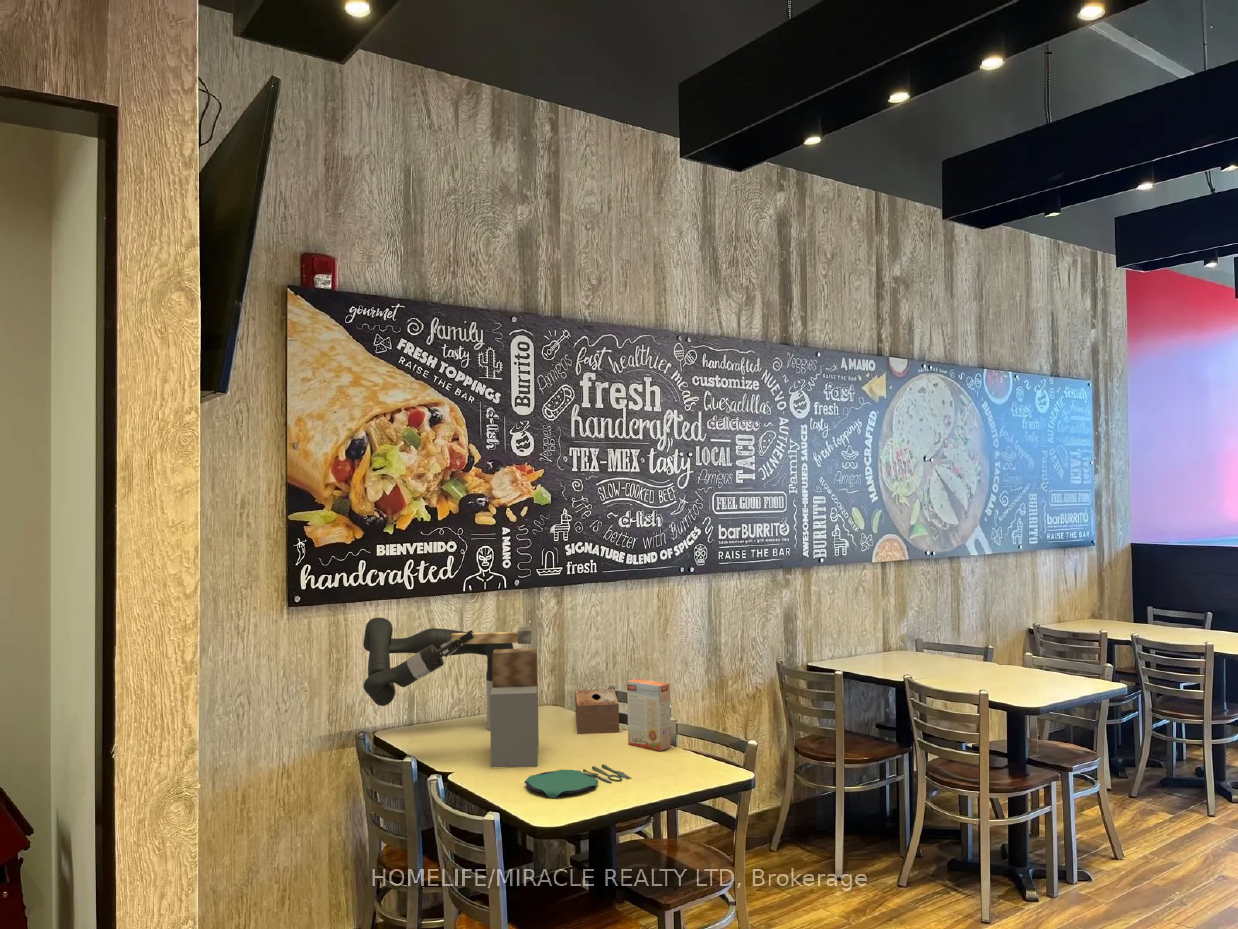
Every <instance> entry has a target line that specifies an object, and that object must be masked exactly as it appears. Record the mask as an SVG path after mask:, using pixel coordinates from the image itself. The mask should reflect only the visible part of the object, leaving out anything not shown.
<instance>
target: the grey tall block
mask: <svg viewBox="0 0 1238 929" xmlns="http://www.w3.org/2000/svg"><path fill="white" fill-rule="evenodd" d="M489 732H490V768H491V767H507V768H526V767H527V768H529V767H530V768H531V767H538V766H539V765H538V764H539V763H538V762H539V750H538V734H539V719H538V720H537V686H531V687H501V688H492V690H491V693H490V730H489Z"/></svg>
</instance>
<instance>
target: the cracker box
mask: <svg viewBox="0 0 1238 929" xmlns="http://www.w3.org/2000/svg"><path fill="white" fill-rule="evenodd" d="M626 683H627V684H626V688H627V696H626V697H627V699H626V700H627V739H628V740H627V744H628V745H629V746H633V747H640V748H643V749H648V750H653V751H657V752H662V751H664V750H667V749H672V734H671V733H672V726H671V722H672V720H671V685H670V684H671V683H668V682H664V681H655V680H648V679H643V678H635V679H631V680H627V681H626Z"/></svg>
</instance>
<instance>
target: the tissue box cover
mask: <svg viewBox="0 0 1238 929" xmlns="http://www.w3.org/2000/svg"><path fill="white" fill-rule="evenodd" d="M574 692H575V695H574V696H575V722H576V731H577V735H589V734H590V735H591V734H593V735H594V734H595V735H596V734H616V733H618V734H619V733H620V707H619V706H620V704H619V700H618V698H617V695H616V692H615V689H614V688H603V689H602V688H601V689H599V688H596V689H594V688H593V689H575V691H574Z"/></svg>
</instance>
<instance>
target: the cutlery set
mask: <svg viewBox="0 0 1238 929" xmlns="http://www.w3.org/2000/svg"><path fill="white" fill-rule="evenodd" d="M591 769H592V770H595V771H597V772H600V773H602V774H603V775H605V776H607V778H608V779H607V778H605V777H602V776H601V775H599V773H597V772H592V771H589V770H587V769H586V768H583V769H582V771H581V770H575V769H556V770H553V771H545V772H540V773H538V774H532V775H530V776H528V777H527V778H526V780H524V784H526V786H527V788H529V789H530V790H532V791H535V792H537V793H542V794H546V796H547V797H548V798H550V799H555V798H557V797H558V796H559V795H566V794H567V795H568V794H569V795H570V794H574V793H575V794H576V793H581V792H584V791H588V790H590V789H592V788H593V789H595V788H596V787H597V786H598V784H599V780H600V781H603V782H606V783H608V784H613V781H614V782H619V781H622V780H623V779H625V780H630V779H631V780H632V779H633V777H631V776H629V775H627V774H626V773H625V772H624V771H621V770H615V769H612V768H611V767H609V766H607V765H606V764H601V768H599V767H596V766H594V765H593V766H591ZM603 769H605V770H607V771H608V772H610V773H613V774H609V773H608V772H605V771H604V770H603ZM615 778H617V779H615Z"/></svg>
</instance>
